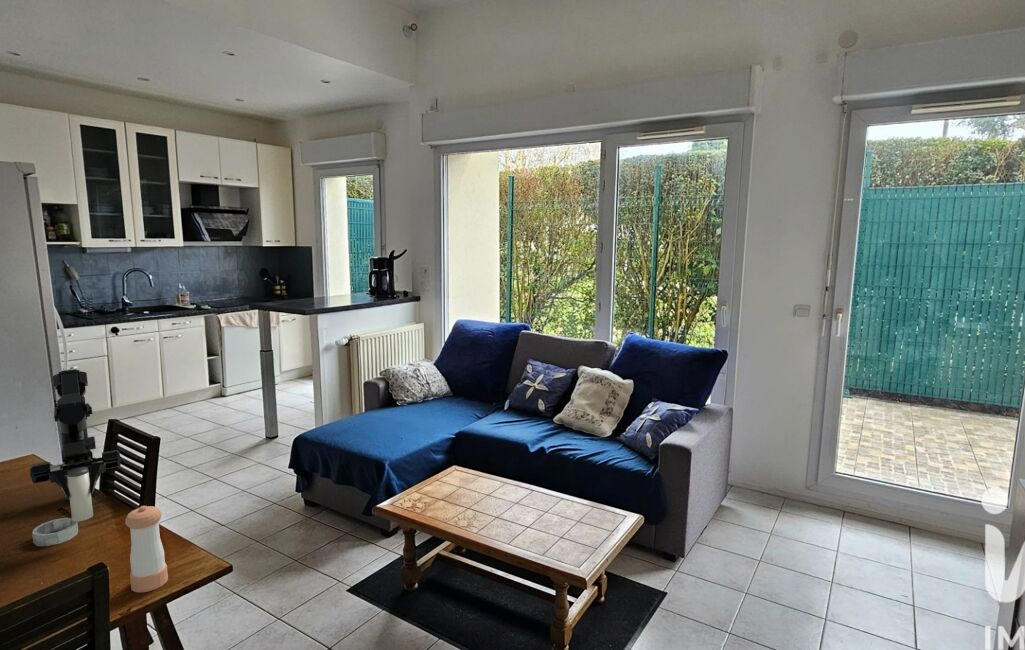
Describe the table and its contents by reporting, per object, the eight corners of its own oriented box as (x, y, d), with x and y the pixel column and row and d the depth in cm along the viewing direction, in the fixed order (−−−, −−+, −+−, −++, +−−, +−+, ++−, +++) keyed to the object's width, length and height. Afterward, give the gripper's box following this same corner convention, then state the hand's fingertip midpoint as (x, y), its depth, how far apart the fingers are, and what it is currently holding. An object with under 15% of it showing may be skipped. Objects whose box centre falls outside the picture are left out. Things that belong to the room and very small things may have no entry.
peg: (80, 513, 149) (75, 466, 147) (97, 513, 149) (92, 467, 147) (67, 521, 145) (62, 473, 143) (84, 521, 145) (79, 474, 143)
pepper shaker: (161, 570, 136) (154, 496, 133) (173, 581, 132) (166, 505, 129) (126, 583, 130) (118, 507, 127) (137, 596, 126) (129, 517, 123)
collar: (53, 527, 154) (52, 517, 154) (86, 528, 154) (85, 518, 154) (24, 545, 145) (23, 535, 145) (59, 546, 145) (58, 535, 145)
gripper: (26, 435, 140) (28, 493, 134) (116, 421, 152) (123, 473, 145) (31, 455, 148) (34, 510, 141) (117, 440, 159) (123, 491, 152)
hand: (80, 495), depth 145 cm, fingers closed on peg, 4 cm apart
